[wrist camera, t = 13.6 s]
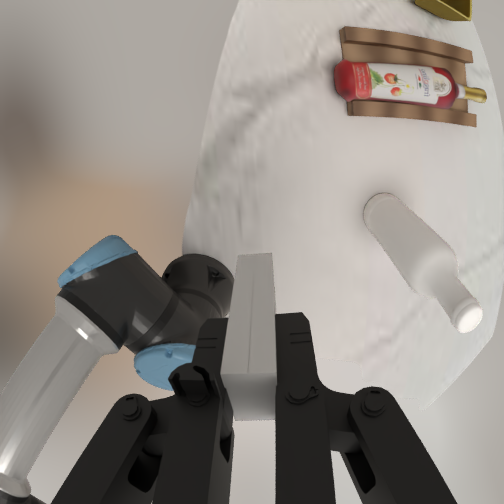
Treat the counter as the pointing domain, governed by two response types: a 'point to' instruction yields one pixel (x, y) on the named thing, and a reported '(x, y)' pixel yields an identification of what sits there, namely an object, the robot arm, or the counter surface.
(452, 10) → the flower pot
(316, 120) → the counter surface
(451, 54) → the rest
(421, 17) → the counter surface
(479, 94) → the liquor
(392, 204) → the bottle
